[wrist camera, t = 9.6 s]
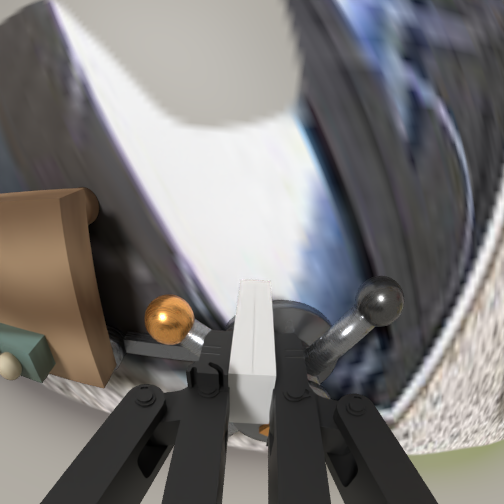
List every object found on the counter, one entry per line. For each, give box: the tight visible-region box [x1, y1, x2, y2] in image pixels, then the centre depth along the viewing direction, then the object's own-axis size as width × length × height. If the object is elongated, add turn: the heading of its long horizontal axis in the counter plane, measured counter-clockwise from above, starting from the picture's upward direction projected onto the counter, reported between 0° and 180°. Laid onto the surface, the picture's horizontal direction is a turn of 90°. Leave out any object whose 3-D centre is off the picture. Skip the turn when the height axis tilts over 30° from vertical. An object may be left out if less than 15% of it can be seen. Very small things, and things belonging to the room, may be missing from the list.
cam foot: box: [106, 300, 338, 383], centre depth 19 cm, size 8×17×2 cm, turn 87°
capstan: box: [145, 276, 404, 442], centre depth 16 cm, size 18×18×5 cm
